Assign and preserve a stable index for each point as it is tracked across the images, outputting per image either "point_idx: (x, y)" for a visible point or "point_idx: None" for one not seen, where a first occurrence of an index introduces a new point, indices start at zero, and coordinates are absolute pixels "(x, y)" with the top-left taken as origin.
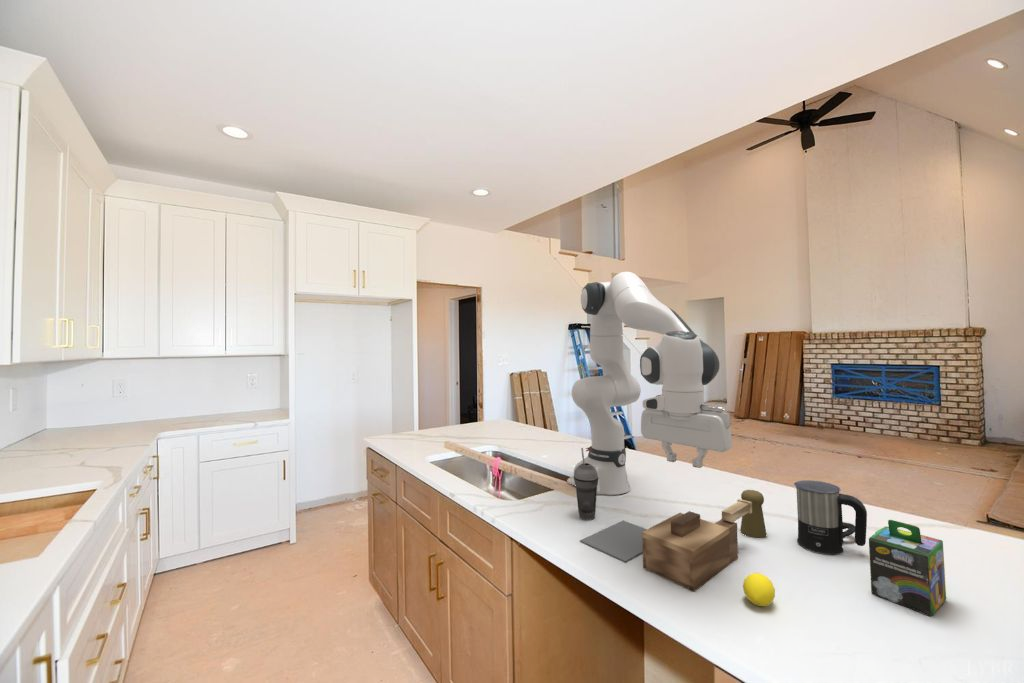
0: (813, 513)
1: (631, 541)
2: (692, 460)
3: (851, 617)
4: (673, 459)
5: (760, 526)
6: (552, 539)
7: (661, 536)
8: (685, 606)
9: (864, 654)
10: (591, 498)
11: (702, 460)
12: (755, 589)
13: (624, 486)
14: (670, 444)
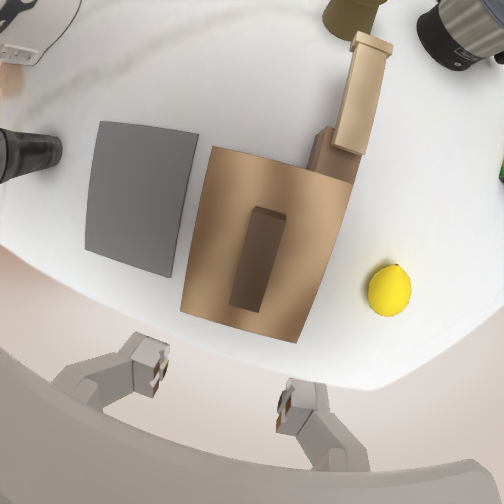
0: (483, 46)
1: (145, 199)
2: (276, 426)
3: (473, 253)
4: (162, 372)
5: (370, 25)
6: (60, 263)
7: (221, 314)
8: (290, 342)
9: (462, 318)
10: (32, 162)
11: (328, 407)
12: (386, 316)
13: (68, 7)
14: (98, 401)
